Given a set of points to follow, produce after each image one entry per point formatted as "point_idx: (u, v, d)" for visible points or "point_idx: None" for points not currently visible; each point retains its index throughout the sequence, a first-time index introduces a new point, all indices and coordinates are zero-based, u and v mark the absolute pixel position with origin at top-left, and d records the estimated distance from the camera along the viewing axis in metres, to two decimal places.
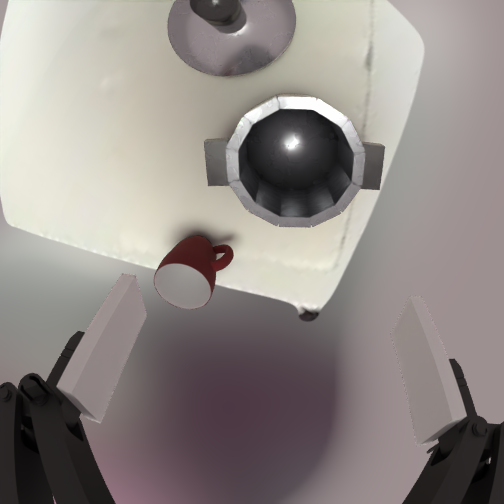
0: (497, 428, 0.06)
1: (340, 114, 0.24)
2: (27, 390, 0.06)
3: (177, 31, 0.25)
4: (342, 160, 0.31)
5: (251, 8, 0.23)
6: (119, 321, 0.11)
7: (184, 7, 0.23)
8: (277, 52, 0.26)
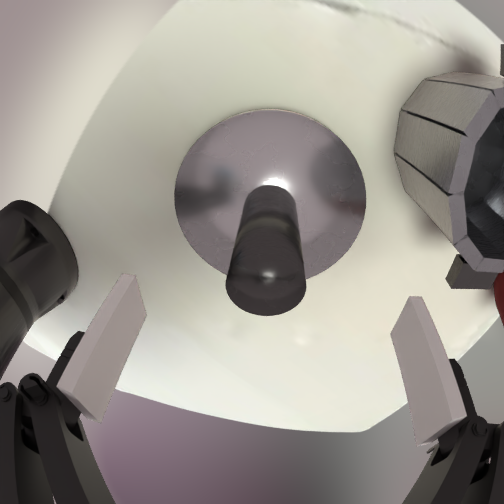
0: (497, 427, 0.06)
1: (486, 102, 0.09)
2: (27, 390, 0.06)
3: None
4: None
5: (254, 176, 0.20)
6: (119, 321, 0.11)
7: None
8: (341, 148, 0.18)
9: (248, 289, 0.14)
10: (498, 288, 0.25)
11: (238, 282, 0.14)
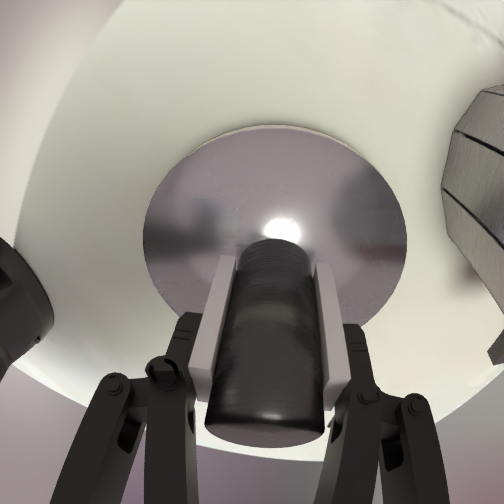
0: (397, 407, 0.08)
1: None
2: (157, 372, 0.08)
3: None
4: None
5: (252, 226, 0.14)
6: (229, 299, 0.12)
7: None
8: (380, 187, 0.12)
9: (239, 431, 0.08)
10: None
11: (222, 425, 0.08)
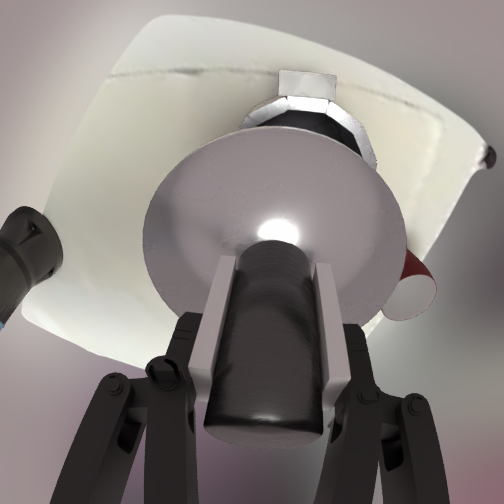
0: (397, 408, 0.08)
1: (242, 125, 0.23)
2: (157, 372, 0.08)
3: None
4: None
5: (251, 228, 0.14)
6: (229, 299, 0.12)
7: None
8: (380, 189, 0.12)
9: (238, 432, 0.08)
10: None
11: (221, 427, 0.08)
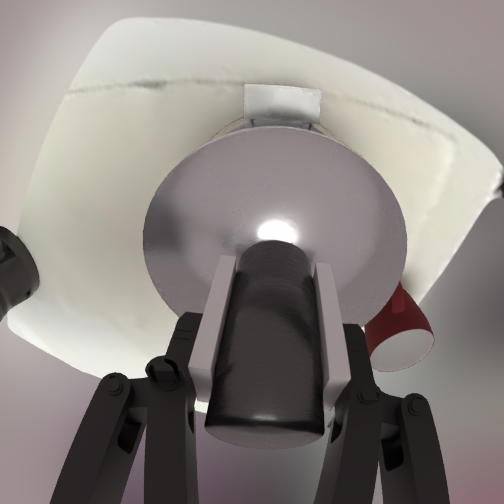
0: (397, 407, 0.08)
1: None
2: (157, 372, 0.08)
3: None
4: None
5: (252, 228, 0.14)
6: (229, 299, 0.12)
7: None
8: (380, 189, 0.12)
9: (239, 433, 0.08)
10: None
11: (222, 427, 0.08)
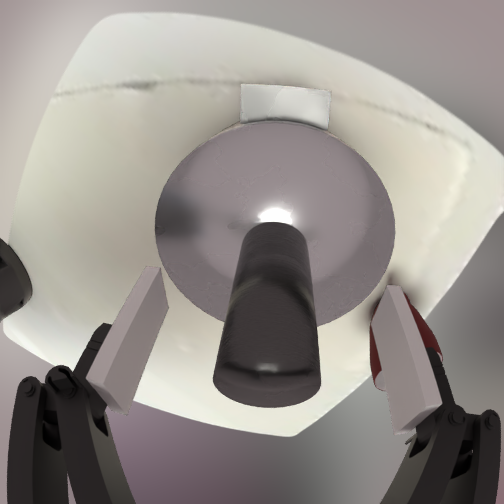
0: (477, 419, 0.06)
1: None
2: (55, 382, 0.07)
3: None
4: None
5: (254, 210, 0.16)
6: (145, 312, 0.12)
7: None
8: (368, 175, 0.14)
9: (244, 386, 0.10)
10: (371, 321, 0.31)
11: (229, 379, 0.10)
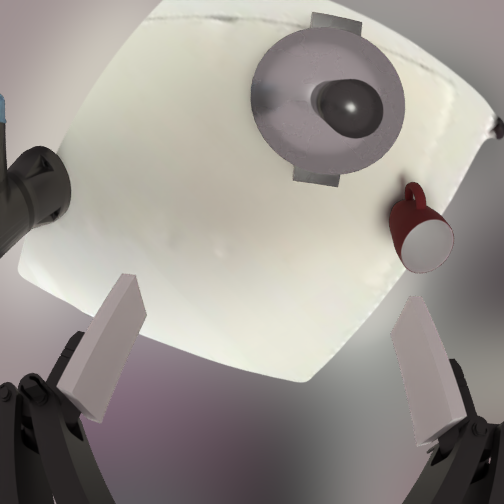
0: (497, 427, 0.06)
1: None
2: (27, 390, 0.06)
3: (329, 163, 0.26)
4: None
5: (321, 72, 0.21)
6: (119, 321, 0.11)
7: (297, 149, 0.26)
8: (385, 61, 0.20)
9: (341, 108, 0.15)
10: (390, 215, 0.37)
11: (333, 100, 0.15)
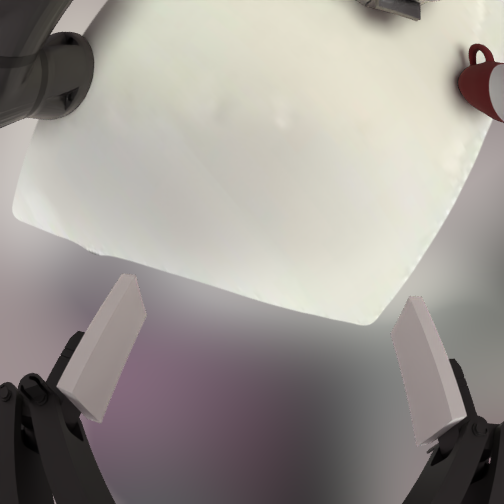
0: (497, 427, 0.06)
1: None
2: (27, 390, 0.06)
3: None
4: None
5: None
6: (119, 321, 0.11)
7: None
8: None
9: None
10: (460, 80, 0.25)
11: None
